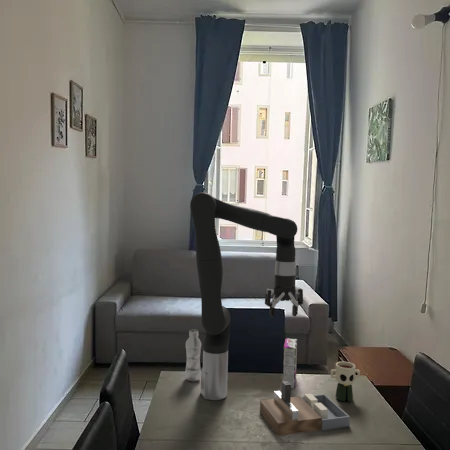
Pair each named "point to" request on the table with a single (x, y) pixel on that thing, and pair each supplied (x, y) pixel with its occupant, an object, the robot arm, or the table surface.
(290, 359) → the candy bar box
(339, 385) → the character mug
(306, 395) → the cream tile
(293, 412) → the bar
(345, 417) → the box
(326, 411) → the cream tile
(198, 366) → the plastic bottle
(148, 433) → the table surface
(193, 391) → the table surface
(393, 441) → the table surface
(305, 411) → the walnut plate
